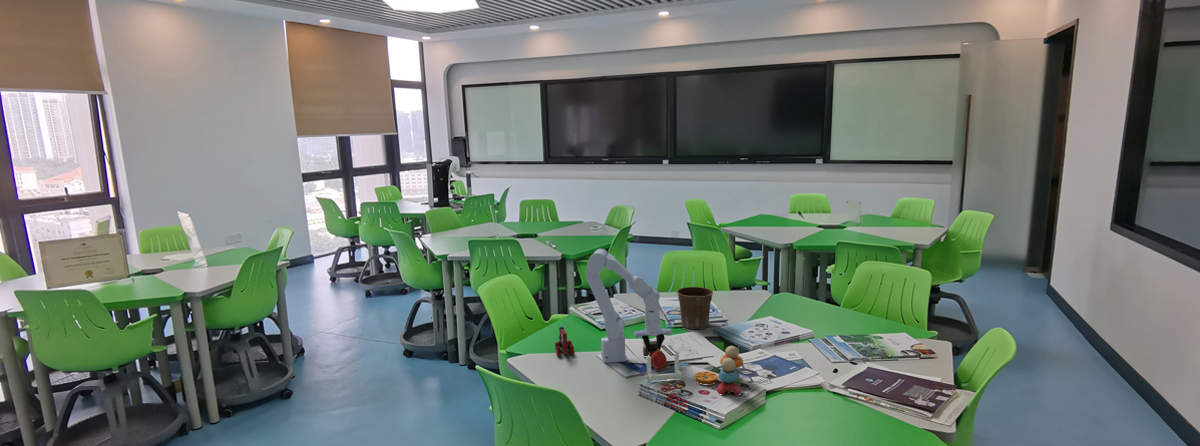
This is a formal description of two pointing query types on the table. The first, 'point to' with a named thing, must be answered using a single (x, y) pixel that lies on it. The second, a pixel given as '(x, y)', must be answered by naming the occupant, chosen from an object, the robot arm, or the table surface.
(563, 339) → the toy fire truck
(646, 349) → the tan rectangular collar
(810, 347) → the table surface
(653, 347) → the rod
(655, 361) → the onion
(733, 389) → the wooden toy figures
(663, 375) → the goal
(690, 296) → the plant pot
